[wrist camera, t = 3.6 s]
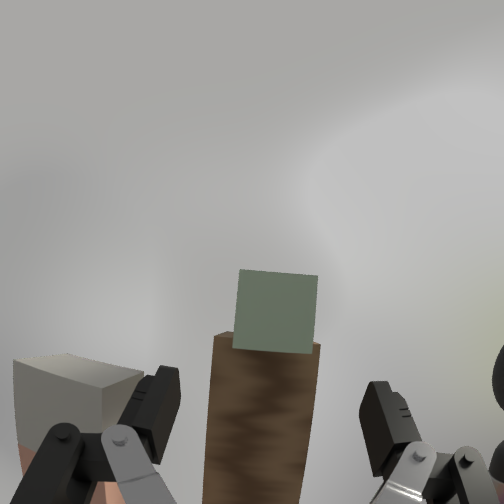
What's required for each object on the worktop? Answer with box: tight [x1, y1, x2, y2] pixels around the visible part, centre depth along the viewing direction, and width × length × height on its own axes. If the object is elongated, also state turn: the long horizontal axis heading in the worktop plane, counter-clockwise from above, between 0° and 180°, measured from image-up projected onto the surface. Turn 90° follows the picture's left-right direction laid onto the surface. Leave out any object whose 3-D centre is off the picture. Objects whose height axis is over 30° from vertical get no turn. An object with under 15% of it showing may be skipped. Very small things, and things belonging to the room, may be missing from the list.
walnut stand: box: [202, 331, 321, 504], centre depth 25 cm, size 8×10×32 cm
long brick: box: [232, 269, 318, 354], centre depth 27 cm, size 4×22×4 cm, turn 179°
